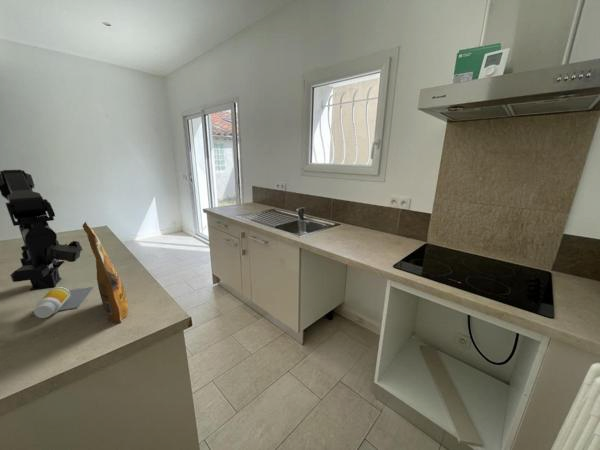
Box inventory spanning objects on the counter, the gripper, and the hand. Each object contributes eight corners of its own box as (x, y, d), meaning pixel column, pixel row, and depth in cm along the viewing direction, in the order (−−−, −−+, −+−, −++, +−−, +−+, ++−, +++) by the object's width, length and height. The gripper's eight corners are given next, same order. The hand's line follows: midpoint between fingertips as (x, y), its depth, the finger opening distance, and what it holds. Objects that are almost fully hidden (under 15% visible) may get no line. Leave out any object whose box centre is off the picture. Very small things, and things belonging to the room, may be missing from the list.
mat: (30, 316, 72) (30, 315, 72) (53, 293, 84) (53, 292, 84) (77, 308, 76) (77, 307, 76) (93, 287, 88) (92, 286, 88)
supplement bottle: (49, 286, 76) (30, 303, 68) (71, 286, 79) (55, 303, 70) (48, 301, 77) (30, 320, 69) (70, 301, 80) (55, 319, 71)
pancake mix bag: (101, 332, 66) (76, 235, 59) (101, 299, 81) (82, 218, 73) (130, 322, 70) (111, 230, 62) (126, 293, 85) (110, 215, 77)
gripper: (58, 247, 65) (72, 298, 69) (86, 228, 81) (96, 270, 86) (0, 253, 61) (19, 306, 65) (42, 231, 77) (55, 275, 81)
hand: (53, 287), depth 74 cm, fingers closed
